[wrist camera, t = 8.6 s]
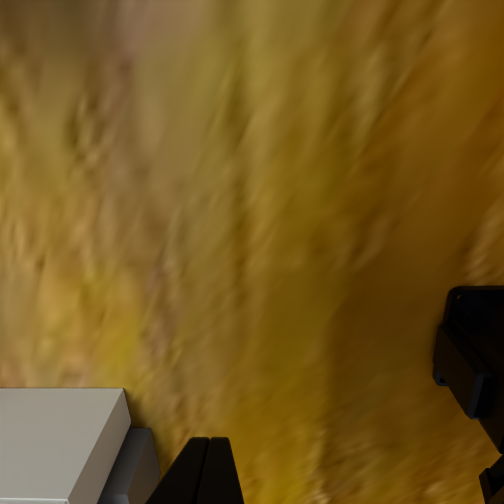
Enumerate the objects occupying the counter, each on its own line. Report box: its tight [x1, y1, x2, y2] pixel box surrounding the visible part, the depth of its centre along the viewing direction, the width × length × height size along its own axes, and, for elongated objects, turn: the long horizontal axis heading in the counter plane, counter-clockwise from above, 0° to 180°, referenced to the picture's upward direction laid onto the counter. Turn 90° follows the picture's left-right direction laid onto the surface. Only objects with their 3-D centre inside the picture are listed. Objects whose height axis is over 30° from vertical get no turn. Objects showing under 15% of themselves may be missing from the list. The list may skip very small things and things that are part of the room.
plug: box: [97, 428, 160, 504], centre depth 24 cm, size 6×5×5 cm
